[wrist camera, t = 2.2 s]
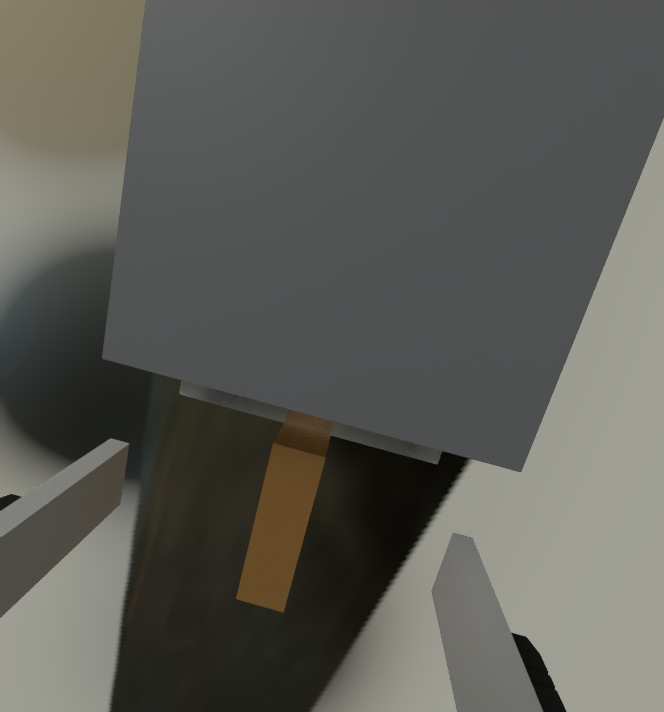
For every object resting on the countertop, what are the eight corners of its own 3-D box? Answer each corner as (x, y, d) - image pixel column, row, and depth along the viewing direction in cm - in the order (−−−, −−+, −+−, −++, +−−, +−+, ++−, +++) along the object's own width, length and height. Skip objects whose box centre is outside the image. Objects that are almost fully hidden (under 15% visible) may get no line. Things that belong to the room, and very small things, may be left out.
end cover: (294, 110, 20) (225, -38, 10) (487, 159, 20) (603, 53, 10) (224, 448, 25) (129, 568, 15) (382, 491, 25) (392, 643, 15)
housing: (282, 81, 24) (167, -174, 10) (516, 139, 23) (727, -43, 10) (236, 312, 27) (102, 358, 13) (441, 366, 26) (520, 472, 13)
